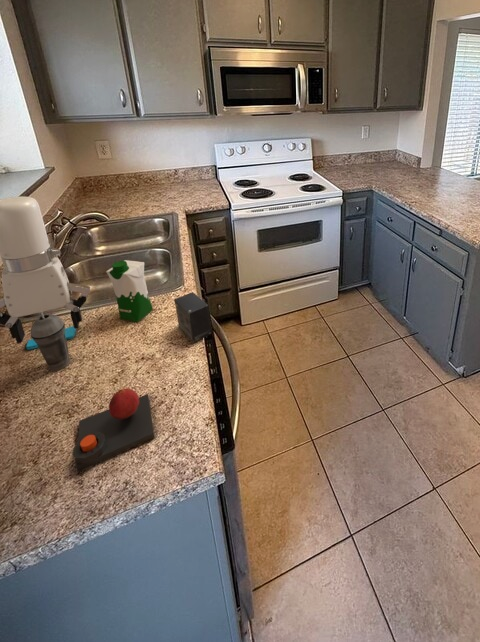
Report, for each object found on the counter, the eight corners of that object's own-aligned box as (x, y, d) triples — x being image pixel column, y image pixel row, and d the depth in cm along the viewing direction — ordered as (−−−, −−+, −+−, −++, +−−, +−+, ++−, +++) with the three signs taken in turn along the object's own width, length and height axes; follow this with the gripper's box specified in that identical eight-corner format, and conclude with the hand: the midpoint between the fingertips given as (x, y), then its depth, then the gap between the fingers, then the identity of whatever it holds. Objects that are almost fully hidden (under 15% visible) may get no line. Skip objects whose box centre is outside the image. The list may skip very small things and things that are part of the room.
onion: (114, 433, 76) (106, 404, 74) (111, 414, 81) (103, 387, 78) (144, 418, 80) (137, 391, 77) (139, 401, 84) (132, 374, 81)
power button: (81, 454, 71) (79, 449, 70) (82, 443, 73) (80, 438, 72) (96, 448, 72) (95, 442, 72) (97, 437, 74) (95, 432, 74)
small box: (213, 333, 108) (209, 304, 105) (193, 344, 104) (187, 314, 101) (197, 318, 116) (193, 290, 112) (178, 327, 111) (172, 299, 108)
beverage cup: (51, 378, 93) (28, 314, 86) (38, 368, 96) (15, 305, 90) (80, 361, 99) (61, 299, 92) (68, 351, 102) (48, 291, 96)
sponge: (29, 336, 107) (23, 346, 102) (76, 324, 112) (73, 333, 107) (31, 340, 108) (25, 351, 102) (77, 329, 113) (74, 338, 107)
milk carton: (115, 320, 115) (101, 266, 109) (136, 304, 124) (123, 252, 117) (138, 324, 113) (125, 269, 106) (157, 308, 121) (146, 255, 115)
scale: (75, 474, 70) (72, 463, 69) (79, 425, 80) (76, 415, 79) (154, 438, 77) (152, 428, 76) (149, 398, 87) (146, 388, 86)
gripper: (82, 243, 77) (98, 311, 83) (-24, 261, 69) (2, 334, 75) (79, 257, 71) (96, 329, 77) (-37, 278, 63) (-9, 357, 69)
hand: (50, 331), depth 76 cm, fingers open, 9 cm apart
